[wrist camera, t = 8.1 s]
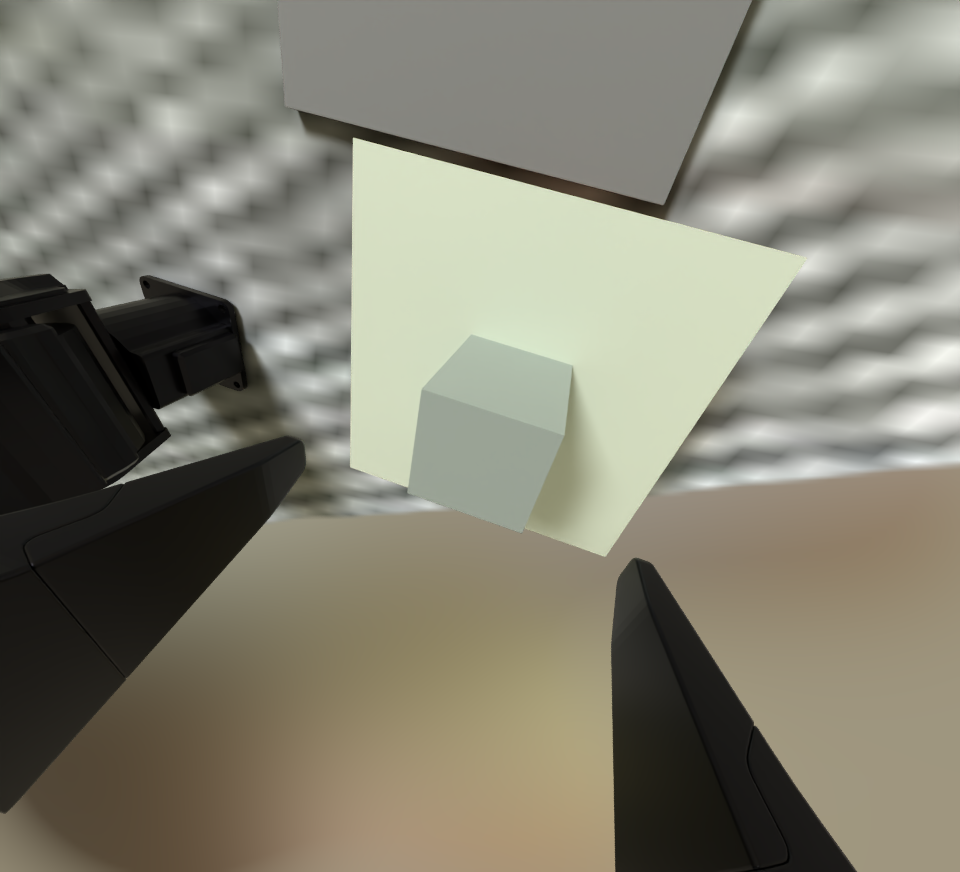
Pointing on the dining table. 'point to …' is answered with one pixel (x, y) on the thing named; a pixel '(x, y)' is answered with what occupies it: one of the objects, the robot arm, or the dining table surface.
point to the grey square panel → (519, 78)
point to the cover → (535, 342)
